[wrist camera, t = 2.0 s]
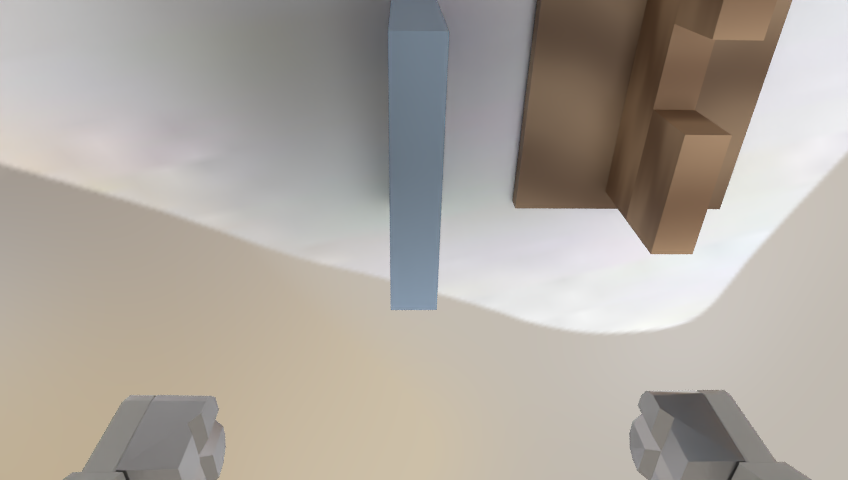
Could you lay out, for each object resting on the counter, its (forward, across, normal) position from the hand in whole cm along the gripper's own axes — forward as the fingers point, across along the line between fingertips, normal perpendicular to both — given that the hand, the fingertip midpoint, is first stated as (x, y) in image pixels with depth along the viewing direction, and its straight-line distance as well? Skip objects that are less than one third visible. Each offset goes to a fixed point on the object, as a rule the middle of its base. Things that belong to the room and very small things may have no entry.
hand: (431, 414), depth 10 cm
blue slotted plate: (+19, 0, 0) cm, 19 cm away
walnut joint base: (+19, -11, -3) cm, 22 cm away
